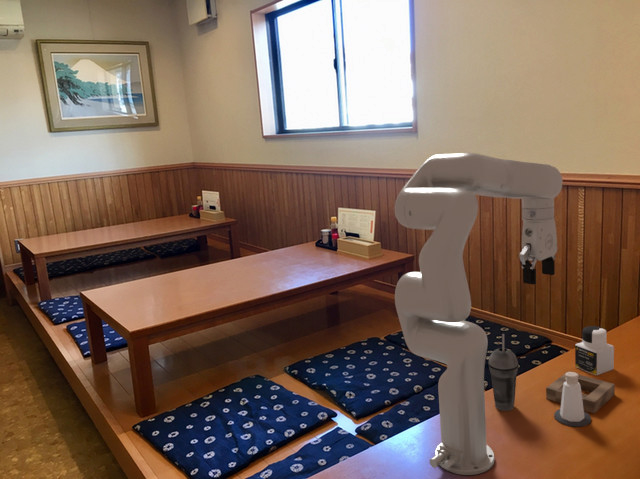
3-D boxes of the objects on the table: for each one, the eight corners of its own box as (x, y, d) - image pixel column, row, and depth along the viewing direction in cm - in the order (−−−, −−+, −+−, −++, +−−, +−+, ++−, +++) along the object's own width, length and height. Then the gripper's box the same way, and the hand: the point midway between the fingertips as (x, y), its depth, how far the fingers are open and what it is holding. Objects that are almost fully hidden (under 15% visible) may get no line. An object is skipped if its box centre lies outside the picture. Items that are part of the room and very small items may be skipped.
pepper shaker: (569, 424, 128) (569, 380, 126) (554, 413, 133) (554, 371, 131) (589, 419, 129) (589, 376, 127) (574, 408, 134) (574, 367, 132)
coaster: (581, 430, 126) (582, 429, 126) (548, 419, 132) (548, 417, 132) (596, 416, 131) (596, 415, 131) (563, 406, 137) (563, 404, 137)
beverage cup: (515, 398, 142) (513, 326, 139) (523, 413, 135) (521, 337, 131) (487, 400, 143) (484, 327, 139) (492, 414, 136) (490, 338, 132)
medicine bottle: (574, 367, 157) (574, 327, 154) (592, 361, 159) (592, 322, 157) (596, 376, 150) (596, 335, 148) (614, 369, 153) (614, 329, 151)
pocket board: (594, 413, 132) (594, 402, 132) (546, 398, 141) (546, 387, 141) (614, 394, 140) (614, 383, 139) (567, 381, 149) (567, 371, 148)
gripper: (535, 220, 130) (536, 289, 133) (568, 208, 141) (568, 272, 144) (506, 218, 135) (508, 285, 139) (540, 207, 146) (541, 269, 150)
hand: (539, 278), depth 141 cm, fingers open, 9 cm apart
